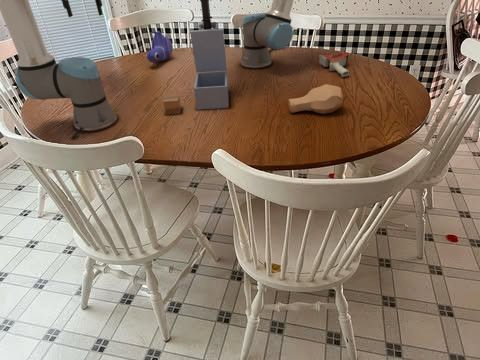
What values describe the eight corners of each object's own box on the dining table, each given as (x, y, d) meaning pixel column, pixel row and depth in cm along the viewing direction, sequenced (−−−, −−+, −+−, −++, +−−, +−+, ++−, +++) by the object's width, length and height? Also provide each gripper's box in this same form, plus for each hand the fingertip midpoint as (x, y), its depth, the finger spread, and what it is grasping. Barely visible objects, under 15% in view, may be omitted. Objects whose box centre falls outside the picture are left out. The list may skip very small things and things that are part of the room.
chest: (228, 107, 138) (227, 86, 133) (196, 109, 138) (193, 88, 133) (228, 91, 151) (226, 71, 146) (199, 93, 151) (196, 73, 146)
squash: (347, 114, 128) (348, 93, 121) (291, 124, 130) (290, 103, 123) (339, 97, 135) (340, 77, 129) (287, 107, 137) (285, 87, 131)
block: (180, 113, 136) (177, 100, 132) (165, 114, 136) (163, 101, 132) (181, 107, 140) (179, 94, 137) (167, 108, 140) (164, 95, 137)
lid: (223, 29, 132) (222, 17, 137) (189, 31, 132) (190, 19, 137) (226, 70, 146) (226, 58, 151) (196, 72, 146) (196, 60, 151)
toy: (161, 63, 199) (140, 68, 177) (156, 30, 193) (134, 32, 170) (177, 62, 197) (158, 68, 175) (173, 29, 190) (153, 31, 168)
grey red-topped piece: (345, 82, 156) (359, 65, 169) (347, 70, 153) (362, 54, 165) (308, 74, 164) (324, 58, 176) (309, 63, 160) (326, 48, 173)
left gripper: (102, -44, 147) (116, 12, 160) (44, -40, 148) (61, 15, 160) (96, -42, 141) (111, 15, 153) (35, -38, 142) (54, 19, 154)
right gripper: (211, -29, 121) (217, 42, 135) (212, -34, 133) (218, 32, 147) (189, -28, 121) (198, 43, 135) (192, -33, 133) (200, 33, 147)
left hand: (85, 15), depth 157 cm, fingers open, 13 cm apart
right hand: (208, 37), depth 141 cm, fingers closed on lid, 2 cm apart
